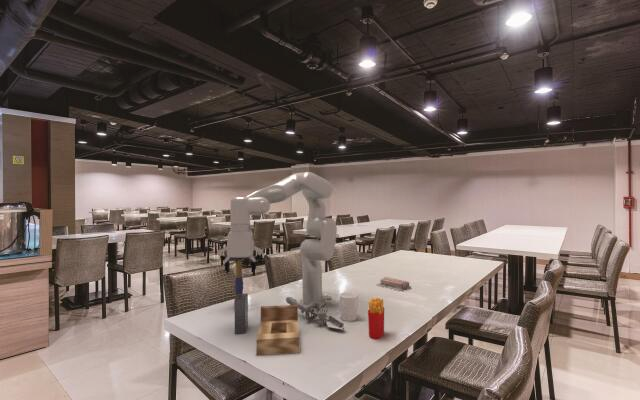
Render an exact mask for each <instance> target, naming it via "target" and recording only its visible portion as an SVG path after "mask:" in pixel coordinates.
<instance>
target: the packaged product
mask: <svg viewBox="0 0 640 400" xmlns="http://www.w3.org/2000/svg"><path fill="white" fill-rule="evenodd" d="M379 282H380V283H376V286H377V287H382V288H384V287H385V289H388V288H389V289H388V290H392V289H394V290H393V291H397V290H398V291H397V292H400V291H402V292H405V291H404V290H406V291H408V290H407V289H409V290H412V286H410V282H409V281H406V280H401V279H397V278H392V277H387V276H384V277H383V278H381V279H380V280H379Z"/></svg>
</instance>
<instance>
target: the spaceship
mask: <svg viewBox="0 0 640 400" xmlns="http://www.w3.org/2000/svg"><path fill="white" fill-rule="evenodd" d="M285 302H286V303H287V304H288V305H298V310H299V311H300V313H301V314H304V313H305V314H304V316H305V319H306V320H307V321H308V322H313V321H315V320H316V319H317V325H319V326H321V327H323V326H324V324H325V323H326V326H327V327H328V328H332V329H338V330H345V328H344V327H346V324H345V323H344V321H343V320H342V319H341V318H339V317H338V316H333V315H329V314H328V311H329V309H328V308H327V309H326V308H324V307H322V308H321V311H320V307H319V305H318V304H317V303H316V302H313V303H311V304H310V305H309V306H308V305H306V304H307V303H306V302H304V303H300V302H298V301H297V299H295V298H293V297H290V296H287V297H285ZM312 307H313V308H312ZM314 307H315V308H314Z"/></svg>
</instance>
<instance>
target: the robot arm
mask: <svg viewBox="0 0 640 400" xmlns="http://www.w3.org/2000/svg"><path fill="white" fill-rule="evenodd" d="M333 188H334V187H333V185H332V184H331V182H330V181H328V180H327V179H325V178H324V177H321V176H319V175H318V174H316V173H313V172H311V171H305V172H295V173H293V174H291V175H288V176H286V177H284V178H283V179H281V180H280V181H278V182H276V183H274V184H271V185H269V186H268V185H267V187H264V188H261V189H258V190H256V191H254V192H252V193H250V194H249V195H246V196H245V197H244V196H235V197H232V198H231V199H230V231H229V232H228V235H227V243H226V246H225V247H223V248H221V249H219V250H218V251H217V254H218V256H219V258H220V259H221V261H223V262H224V271H226V274H228V273H229V272H230V270H231V269H230V267H231V265H230V264H231V263H230V262H231V261H229V259H230V258H242V257H250V258H249V259H251V262H250V263H251V264H250V265H251V269H250V270H251V273H254V272H255V270H256V265H257V261H258V259H260V257H261V255H262V254H263V251H264V250H263V249H261V248H259V247H257V246H255V245H254V234H253V231H252V229H253V230H254V228H255V225H253V224H251V216H263V215H265V214H267V213H268V212H269V211H270V208H271V204H277V203H280V202H284V201H286V200H288V199H289V198H291V197H292V196H294V195H296V194H298V193H299V192H301V193H302V195H303V196H304V198H305V200H306V202H307V204H308V214H307V215H308V216H307V222H306V226H305V228H306V234H307V235H308V236H311V237H313V238H320V239H313V238H310V239H309V238H308V239H305V240H303V241H302V242H301V243H300V246H299V253H300V257H301V268H302V269H301V270H302V273H301V276H302V278H301V279H302V281H301V282H302V283H301V285H302V299H301V300H300V301H299V303H304V302H306V303H307V304H306V305H308V306H309V305H310V304H311V303H313V302H316V303H317V304H318V305H319V308H321V307H322V308H323V307H324V306H325V305H326V301H332V300H333V299H332V298H333V297H332V295H324V294H323V274H322V273H323V269H322V264H321V261H322V262H326V261H330V260H331V259H332V258H333V256H334V253H335V252H334V251H335V245H336V242H337V241H336V240H337V231H338V226H337V223H336V221H335V220H334V219H332V218H331V217H330V218H329V217H326V214H327V213H326V212H327V207H326V203H325V201H324V200H323V199H327V198H330V197H331V196H332V195H333V190H334V189H333ZM226 250H227V257H225V256H224V251H226ZM255 251H256V252H257V255H254V254H255ZM311 309H313V307H312V308H311ZM314 309H315V307H314Z"/></svg>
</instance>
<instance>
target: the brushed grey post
mask: <svg viewBox="0 0 640 400" xmlns="http://www.w3.org/2000/svg"><path fill="white" fill-rule="evenodd" d="M233 308H234V310H233V311H234V335H242V334H243V335H244V334H245V335H246V333H247V330H248V328H249V293H243V294H237V296H236V295H235V298H234V307H233Z"/></svg>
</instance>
